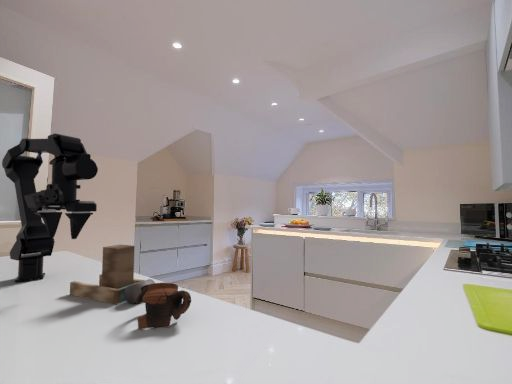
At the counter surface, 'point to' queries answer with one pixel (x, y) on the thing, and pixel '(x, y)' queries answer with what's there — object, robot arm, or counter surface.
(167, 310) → the pottery mug
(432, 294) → the counter surface
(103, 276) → the tall brown box
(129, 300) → the wooden u-shaped frame
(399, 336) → the counter surface
